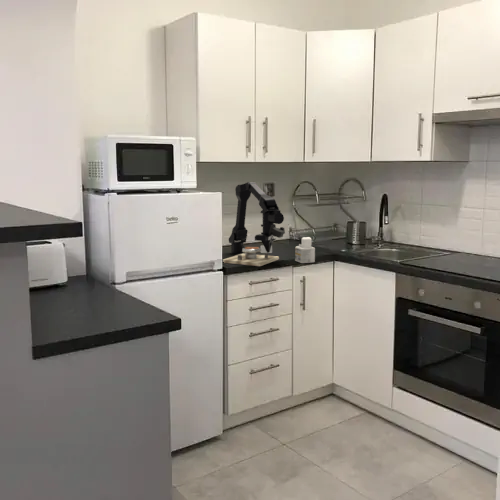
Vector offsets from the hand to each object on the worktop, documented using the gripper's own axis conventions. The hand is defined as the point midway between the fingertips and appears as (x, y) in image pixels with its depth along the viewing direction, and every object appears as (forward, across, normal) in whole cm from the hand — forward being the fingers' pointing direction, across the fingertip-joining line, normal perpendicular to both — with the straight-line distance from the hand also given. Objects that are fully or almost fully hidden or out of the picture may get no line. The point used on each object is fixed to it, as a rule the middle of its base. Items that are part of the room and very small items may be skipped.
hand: (268, 252), depth 287 cm
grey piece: (+1, 0, +7) cm, 7 cm away
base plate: (+5, -1, +10) cm, 11 cm away
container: (+5, +10, -16) cm, 20 cm away
